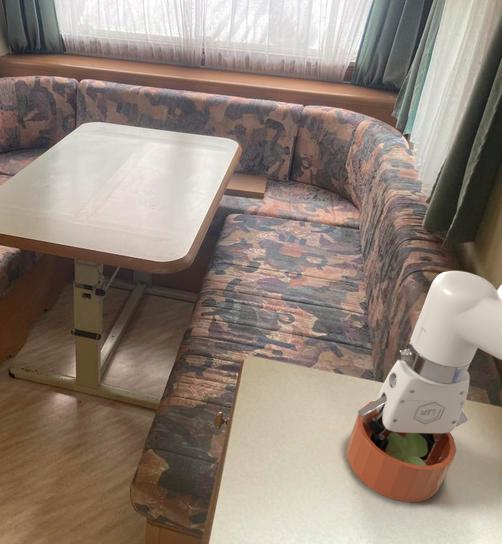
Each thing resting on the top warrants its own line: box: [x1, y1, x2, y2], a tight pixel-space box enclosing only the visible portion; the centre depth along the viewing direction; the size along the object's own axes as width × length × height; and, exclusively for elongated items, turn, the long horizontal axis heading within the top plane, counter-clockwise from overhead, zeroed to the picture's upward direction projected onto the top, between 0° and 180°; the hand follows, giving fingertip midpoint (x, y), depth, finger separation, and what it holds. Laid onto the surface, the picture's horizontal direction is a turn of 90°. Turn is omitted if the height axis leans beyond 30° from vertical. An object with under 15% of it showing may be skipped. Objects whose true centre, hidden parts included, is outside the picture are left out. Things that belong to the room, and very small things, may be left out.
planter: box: [346, 400, 457, 503], centre depth 86 cm, size 13×13×7 cm
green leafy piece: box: [386, 433, 428, 466], centre depth 87 cm, size 7×8×7 cm
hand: (397, 451), depth 86 cm, fingers closed on green leafy piece, 6 cm apart
